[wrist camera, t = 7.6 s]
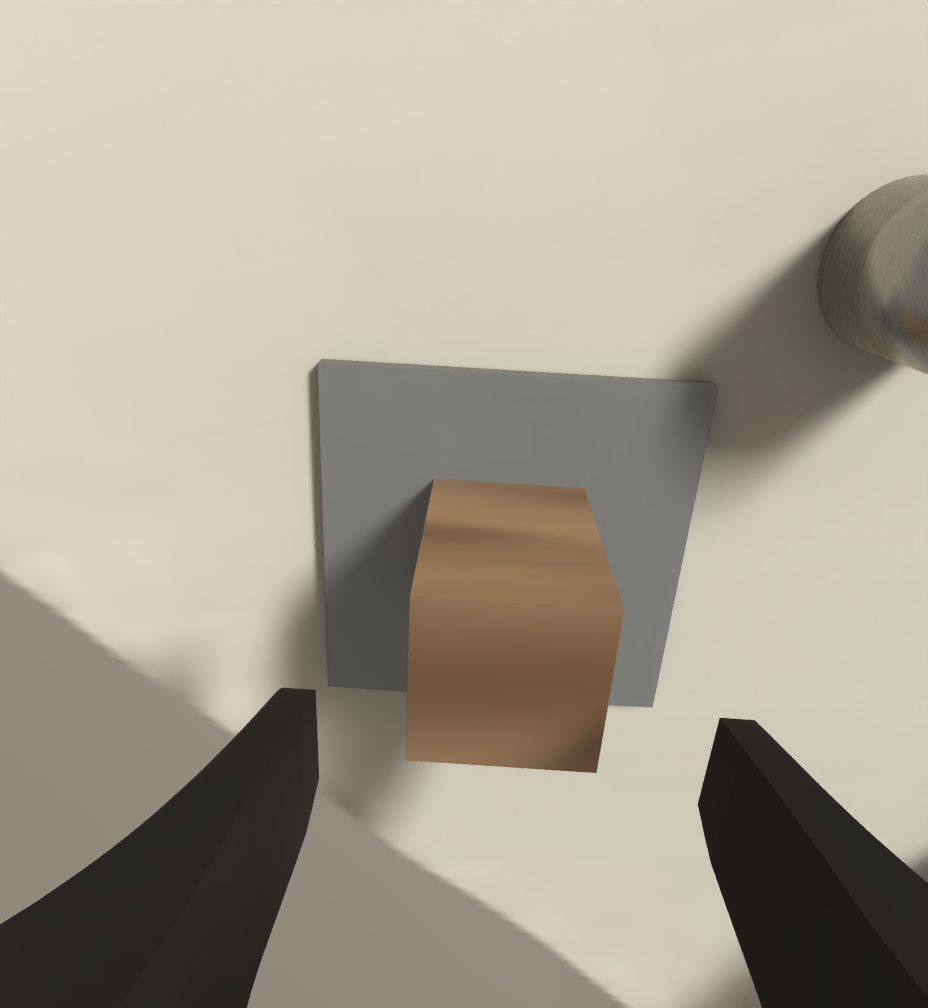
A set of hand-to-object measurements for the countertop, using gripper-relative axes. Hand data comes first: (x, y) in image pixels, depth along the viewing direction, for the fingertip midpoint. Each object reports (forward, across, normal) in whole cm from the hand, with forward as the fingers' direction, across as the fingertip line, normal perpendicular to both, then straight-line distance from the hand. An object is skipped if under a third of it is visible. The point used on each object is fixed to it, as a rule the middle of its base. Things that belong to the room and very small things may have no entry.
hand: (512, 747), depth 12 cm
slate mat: (+8, 0, 0) cm, 8 cm away
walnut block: (+8, 0, 0) cm, 8 cm away
